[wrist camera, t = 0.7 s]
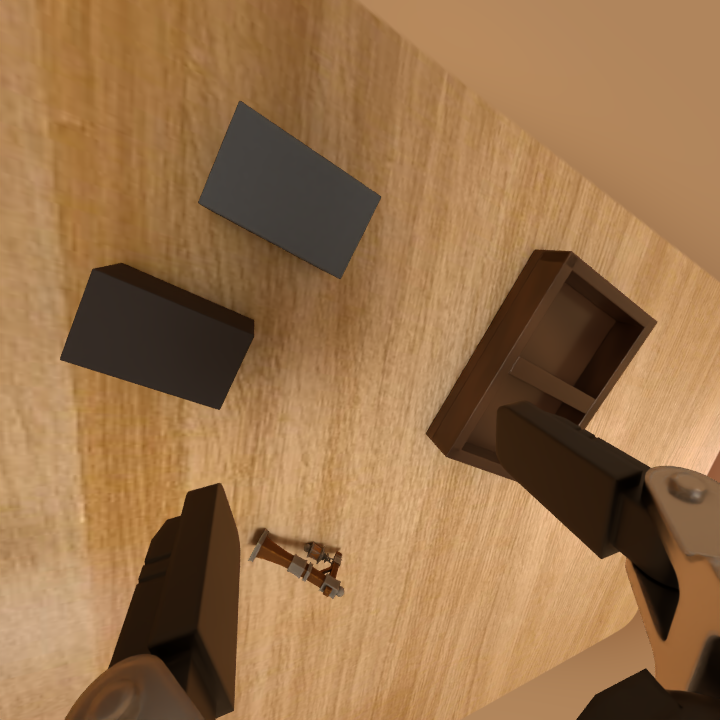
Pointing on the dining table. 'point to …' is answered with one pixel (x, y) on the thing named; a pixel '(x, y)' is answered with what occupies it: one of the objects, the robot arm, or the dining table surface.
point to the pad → (287, 193)
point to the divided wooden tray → (542, 355)
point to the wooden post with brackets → (302, 564)
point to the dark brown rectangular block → (157, 336)
